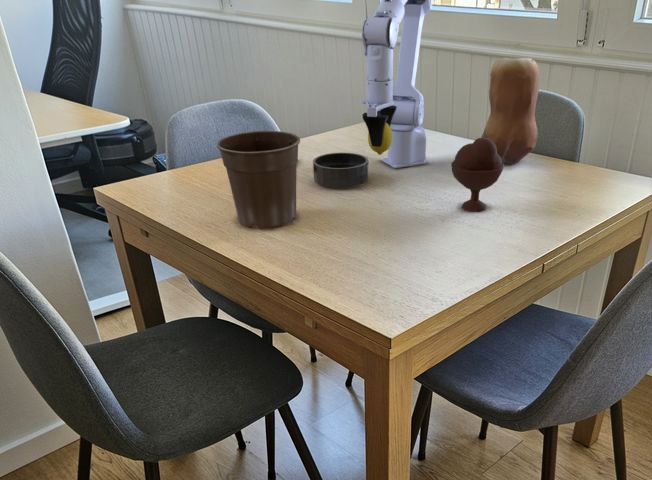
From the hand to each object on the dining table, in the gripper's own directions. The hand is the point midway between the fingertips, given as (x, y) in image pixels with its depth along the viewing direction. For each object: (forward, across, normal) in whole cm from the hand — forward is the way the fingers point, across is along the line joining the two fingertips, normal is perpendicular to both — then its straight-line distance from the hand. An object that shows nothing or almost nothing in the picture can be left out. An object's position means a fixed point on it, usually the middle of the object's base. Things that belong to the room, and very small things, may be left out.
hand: (379, 142), depth 143 cm
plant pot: (+10, +27, -18) cm, 34 cm away
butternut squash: (+10, -25, +28) cm, 39 cm away
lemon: (+3, 0, 0) cm, 3 cm away
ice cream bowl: (+10, +10, +24) cm, 28 cm away
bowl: (+10, 0, -10) cm, 14 cm away
